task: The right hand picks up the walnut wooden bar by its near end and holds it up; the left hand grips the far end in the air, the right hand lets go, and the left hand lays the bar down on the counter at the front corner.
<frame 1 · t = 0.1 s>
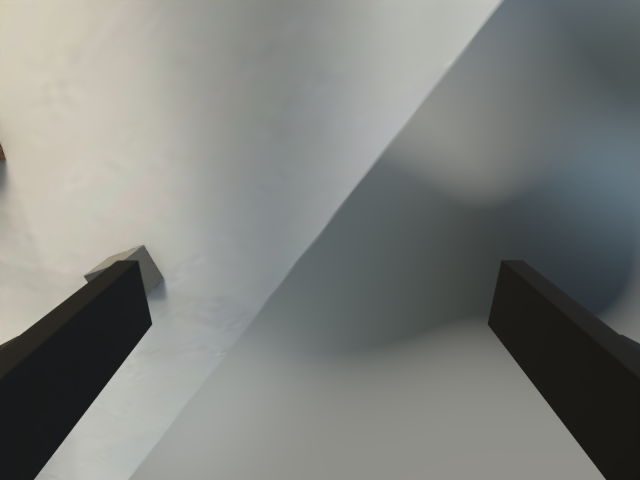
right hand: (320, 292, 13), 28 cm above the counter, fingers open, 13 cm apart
slate cube: (136, 268, 43), on the counter
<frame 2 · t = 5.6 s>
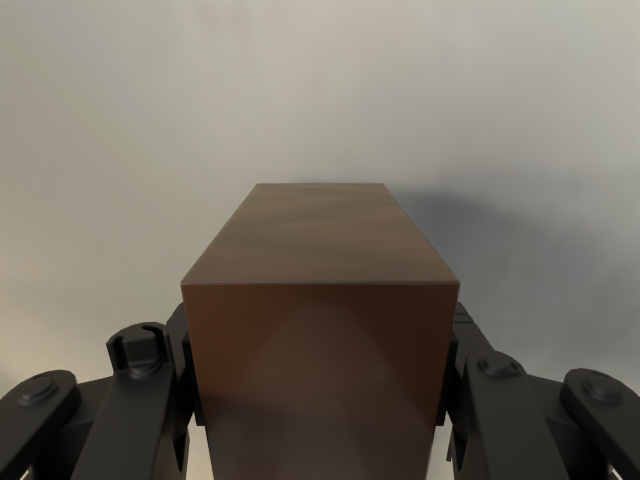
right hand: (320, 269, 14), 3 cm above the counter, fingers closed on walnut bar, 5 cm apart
walnut bar: (320, 437, 19), point 3 cm above the counter, touching right hand
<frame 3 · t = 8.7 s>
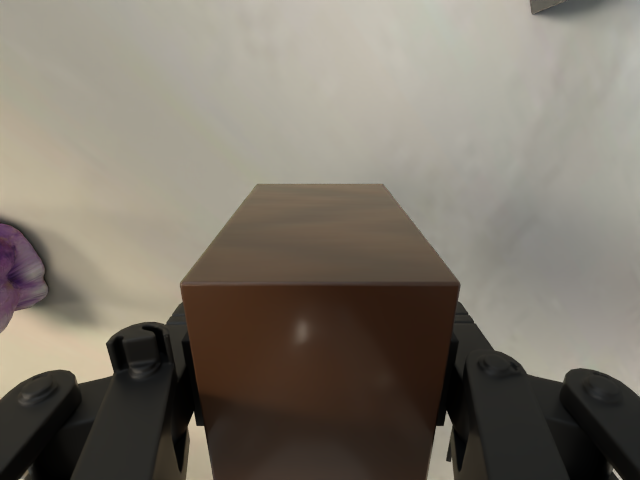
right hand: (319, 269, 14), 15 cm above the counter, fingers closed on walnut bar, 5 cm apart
figurine: (7, 261, 31), on the counter
walnut bar: (320, 437, 19), point 14 cm above the counter, touching right hand
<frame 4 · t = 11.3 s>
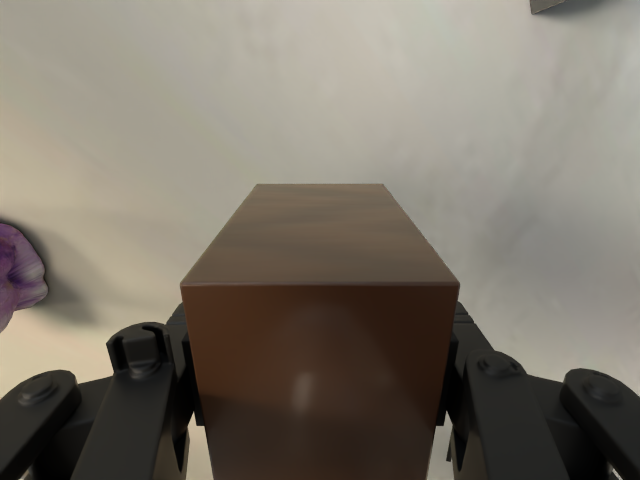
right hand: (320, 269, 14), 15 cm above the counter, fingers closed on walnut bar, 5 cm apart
figurine: (7, 261, 31), on the counter
walnut bar: (320, 437, 19), point 14 cm above the counter, touching right hand, left hand
when the right hand's fingers open (15 cm above the counter, at t = 12.1 s): walnut bar stays where it is, held by the left hand.
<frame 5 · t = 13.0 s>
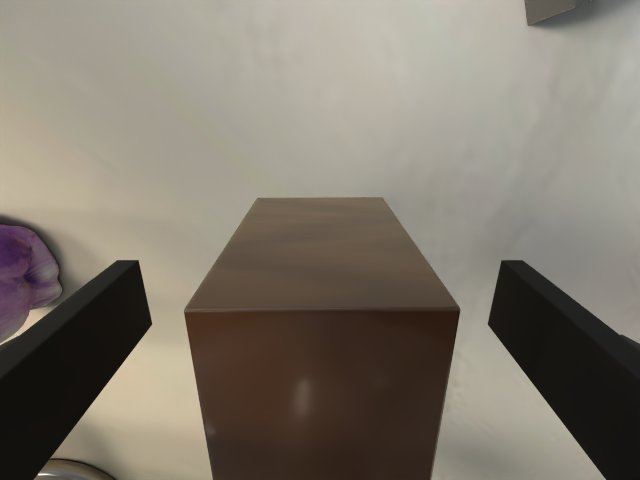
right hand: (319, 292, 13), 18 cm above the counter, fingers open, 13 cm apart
figurine: (22, 262, 32), on the counter
walnut bar: (320, 447, 19), point 15 cm above the counter, touching left hand
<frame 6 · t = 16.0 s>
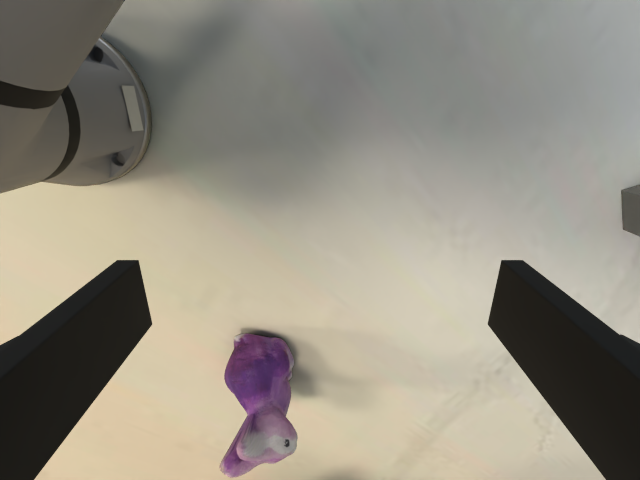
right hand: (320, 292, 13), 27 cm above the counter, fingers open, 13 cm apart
figurine: (269, 358, 47), on the counter
when the left hand's fingers open (1 cm above the counter, at t = 20.8 s): walnut bar stays where it is, on the counter.
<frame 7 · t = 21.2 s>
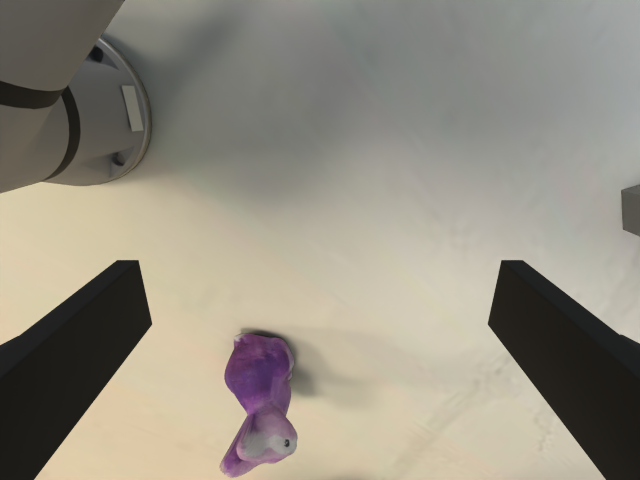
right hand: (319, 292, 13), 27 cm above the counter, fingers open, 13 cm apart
figurine: (269, 358, 47), on the counter
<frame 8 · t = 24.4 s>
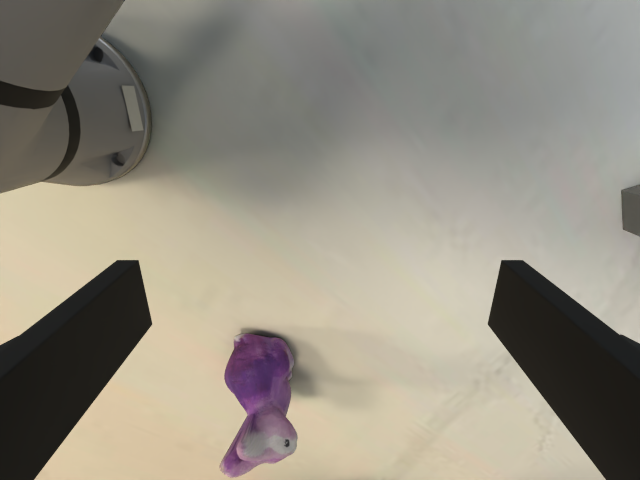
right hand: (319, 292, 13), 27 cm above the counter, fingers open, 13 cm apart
figurine: (269, 358, 47), on the counter
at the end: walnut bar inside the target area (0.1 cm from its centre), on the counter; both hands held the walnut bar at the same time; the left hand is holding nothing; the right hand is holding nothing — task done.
